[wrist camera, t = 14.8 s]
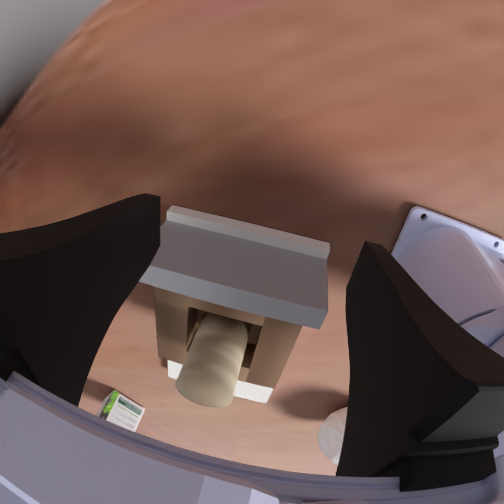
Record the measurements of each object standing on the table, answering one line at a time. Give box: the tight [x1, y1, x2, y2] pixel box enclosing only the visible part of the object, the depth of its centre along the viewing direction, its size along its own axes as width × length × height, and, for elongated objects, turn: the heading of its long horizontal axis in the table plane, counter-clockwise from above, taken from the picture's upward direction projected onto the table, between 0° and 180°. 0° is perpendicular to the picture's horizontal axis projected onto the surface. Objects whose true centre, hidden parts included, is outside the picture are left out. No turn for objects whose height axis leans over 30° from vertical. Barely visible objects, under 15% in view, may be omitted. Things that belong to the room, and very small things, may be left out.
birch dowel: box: [176, 311, 252, 408], centre depth 20 cm, size 4×4×7 cm
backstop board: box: [139, 205, 330, 403], centre depth 24 cm, size 11×20×6 cm, turn 170°
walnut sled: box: [154, 286, 302, 389], centre depth 23 cm, size 10×9×4 cm
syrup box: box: [96, 390, 145, 432], centre depth 36 cm, size 6×6×14 cm
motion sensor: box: [317, 407, 348, 466], centre depth 29 cm, size 8×8×8 cm
